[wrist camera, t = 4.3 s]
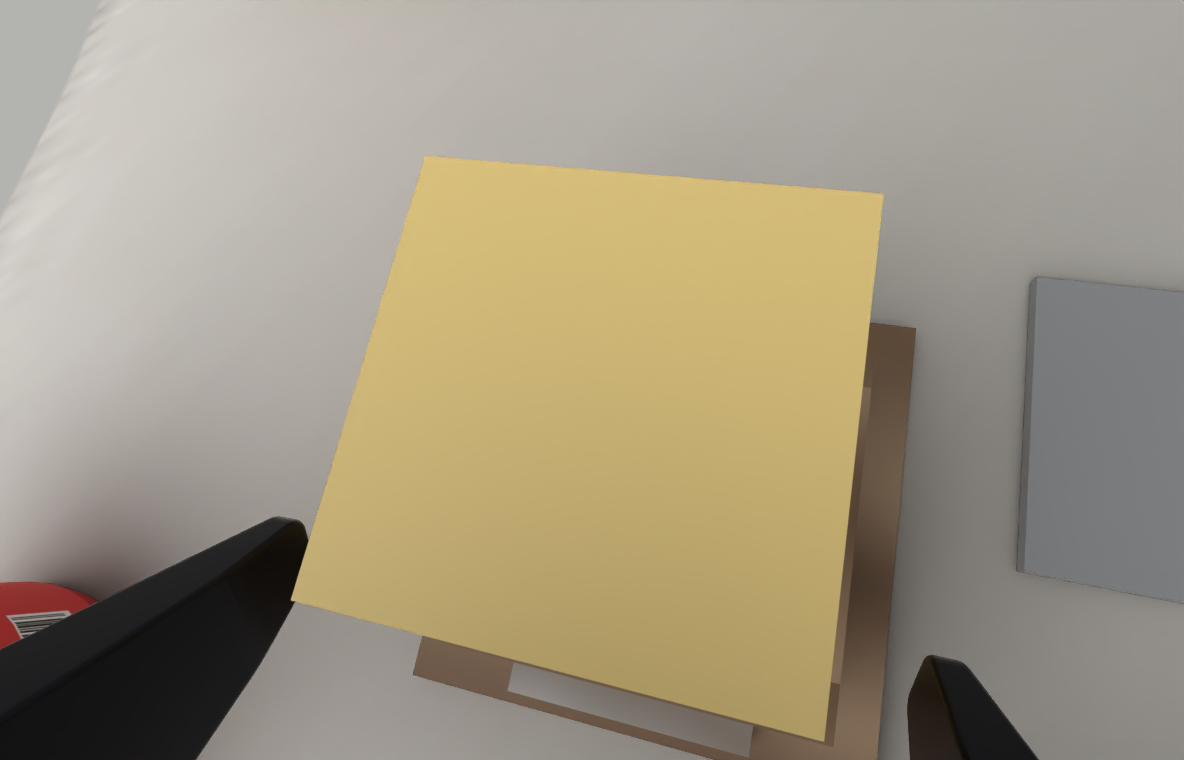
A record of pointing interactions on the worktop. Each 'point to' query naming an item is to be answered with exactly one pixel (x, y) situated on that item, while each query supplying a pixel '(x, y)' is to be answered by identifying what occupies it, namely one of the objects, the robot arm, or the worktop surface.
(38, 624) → the canned food
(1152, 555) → the stand
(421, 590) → the plug
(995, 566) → the worktop surface
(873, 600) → the socket
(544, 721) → the worktop surface
